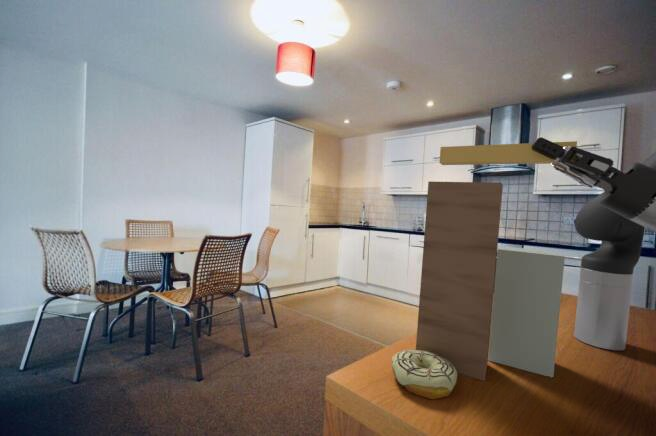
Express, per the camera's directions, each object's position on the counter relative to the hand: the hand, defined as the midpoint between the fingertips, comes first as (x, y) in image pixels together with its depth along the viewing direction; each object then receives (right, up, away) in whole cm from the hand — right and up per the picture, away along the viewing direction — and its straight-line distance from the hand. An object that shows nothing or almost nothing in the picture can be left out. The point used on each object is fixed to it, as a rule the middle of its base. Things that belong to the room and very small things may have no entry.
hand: (534, 145), depth 53 cm
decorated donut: (-19, -40, 0) cm, 44 cm away
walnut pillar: (-12, -40, +7) cm, 42 cm away
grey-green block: (+3, -41, +9) cm, 42 cm away
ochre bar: (-4, -3, +3) cm, 6 cm away
